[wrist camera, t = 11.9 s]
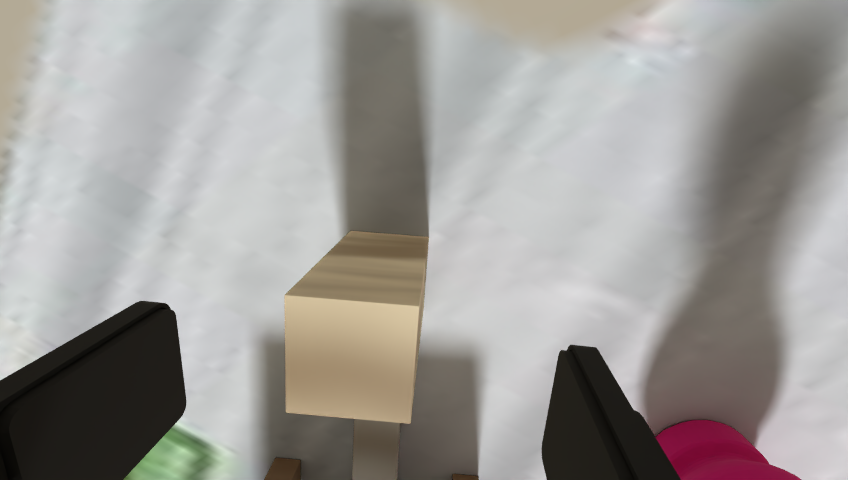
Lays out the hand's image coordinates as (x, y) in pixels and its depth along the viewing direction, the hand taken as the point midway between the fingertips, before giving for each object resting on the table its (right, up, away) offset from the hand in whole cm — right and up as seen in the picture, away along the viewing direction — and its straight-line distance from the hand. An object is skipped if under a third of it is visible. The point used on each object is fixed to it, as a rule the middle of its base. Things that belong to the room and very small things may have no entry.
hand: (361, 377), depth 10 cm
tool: (-1, -5, +13) cm, 14 cm away
